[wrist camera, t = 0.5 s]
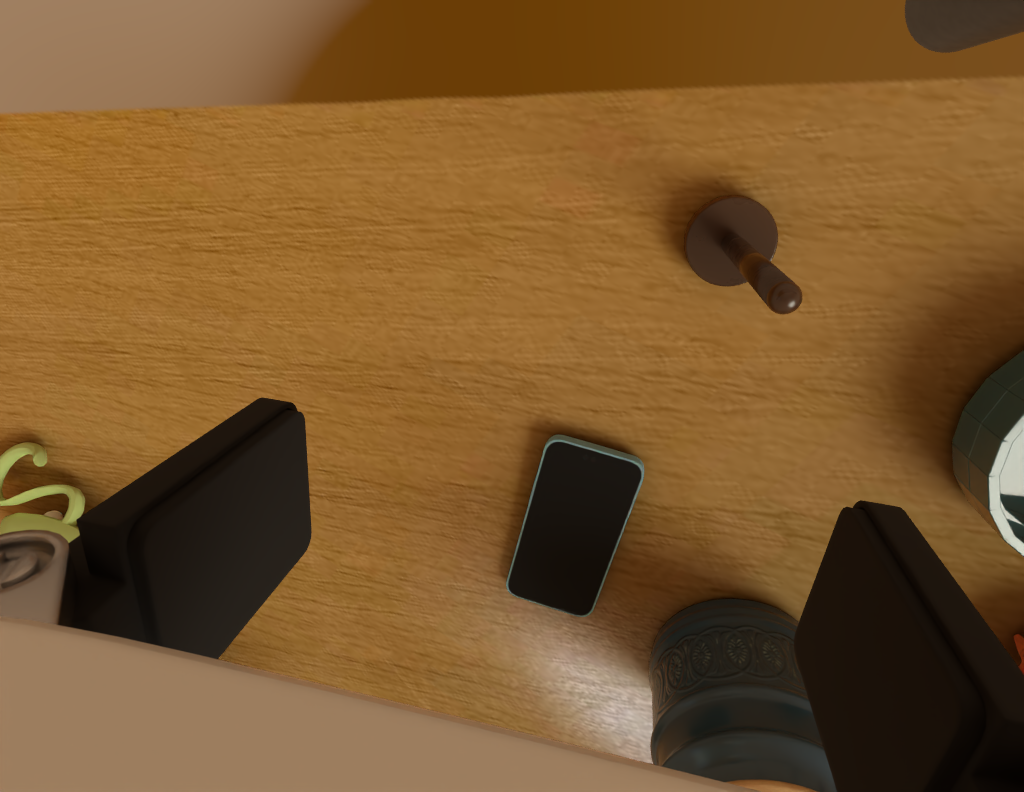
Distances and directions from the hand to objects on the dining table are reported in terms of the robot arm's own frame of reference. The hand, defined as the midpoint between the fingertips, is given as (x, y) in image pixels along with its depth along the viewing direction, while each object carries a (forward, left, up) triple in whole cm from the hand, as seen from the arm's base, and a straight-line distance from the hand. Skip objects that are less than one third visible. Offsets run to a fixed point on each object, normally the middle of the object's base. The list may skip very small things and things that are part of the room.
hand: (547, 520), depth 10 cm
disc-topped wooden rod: (-3, +6, -29) cm, 30 cm away
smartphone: (+20, +5, -29) cm, 36 cm away
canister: (+26, +21, -29) cm, 44 cm away
